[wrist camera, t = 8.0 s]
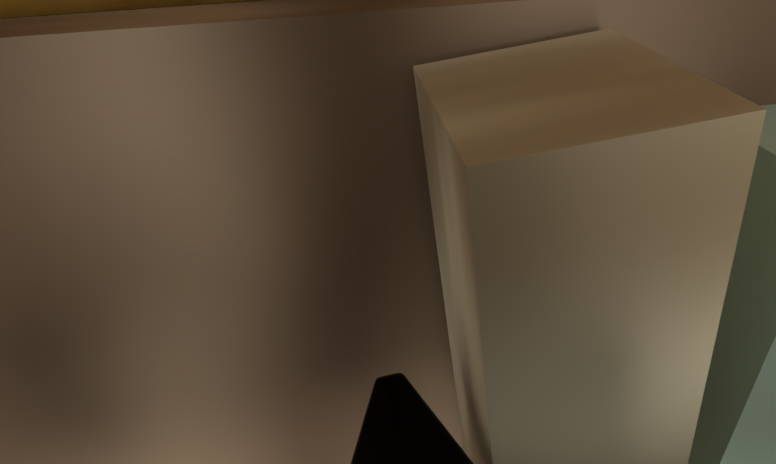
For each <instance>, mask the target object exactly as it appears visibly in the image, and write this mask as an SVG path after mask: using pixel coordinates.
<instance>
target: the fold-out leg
mask: <svg viewBox="0 0 776 464" xmlns="http://www.w3.org/2000/svg"><path fill="white" fill-rule="evenodd" d="M413 70H414V78H415V86H416V93H417V101H418V108H419V116H420V123H421V131H422V138H423V146H424V153H425V161H426V169H427V176H428V184H429V191H430V199H431V206H432V214H433V221H434V229H435V236H436V244H437V252H438V259H439V267H440V274H441V282H442V289H443V297H444V304H445V312H446V320H447V327H448V335H449V342H450V350H451V357H452V365H453V372H454V380H455V387H456V395H457V403H458V410H459V418H460V425H461V433H462V440H463V448H464V452H465V453H466V454H467V456H468V457H469V458H470V460H471V461H472V462H473V463H474V464H688V461H689V457H690V452H691V448H692V443H693V439H694V434H695V430H696V425H697V421H698V416H699V412H700V407H701V403H702V398H703V394H704V389H705V385H706V380H707V376H708V371H709V367H710V362H711V358H712V353H713V349H714V344H715V340H716V335H717V331H718V326H719V322H720V317H721V313H722V308H723V304H724V299H725V295H726V290H727V286H728V281H729V277H730V272H731V268H732V263H733V259H734V254H735V250H736V245H737V241H738V236H739V232H740V227H741V223H742V218H743V213H744V209H745V204H746V200H747V195H748V191H749V186H750V182H751V177H752V173H753V168H754V164H755V159H756V155H757V150H758V146H759V141H760V137H761V132H762V128H763V123H764V119H765V114H766V110H767V109H765V108H763V107H761V106H759V105H757V104H756V103H754V102H752V101H750V100H748V99H746V98H744V97H742V96H740V95H738V94H736V93H734V92H732V91H730V90H728V89H726V88H724V87H722V86H720V85H718V84H716V83H714V82H712V81H710V80H709V79H707V78H705V77H703V76H701V75H699V74H697V73H695V72H693V71H691V70H689V69H687V68H685V67H683V66H681V65H679V64H677V63H675V62H673V61H671V60H669V59H667V58H665V57H664V56H662V55H660V54H658V53H656V52H654V51H652V50H650V49H648V48H646V47H644V46H642V45H640V44H638V43H636V42H634V41H632V40H630V39H628V38H626V37H624V36H622V35H620V34H618V33H617V32H615V31H613V30H611V29H604V30H599V31H594V32H588V33H583V34H578V35H573V36H567V37H562V38H557V39H552V40H546V41H541V42H536V43H531V44H525V45H520V46H515V47H510V48H504V49H499V50H494V51H489V52H483V53H478V54H473V55H468V56H463V57H457V58H452V59H447V60H442V61H436V62H431V63H426V64H421V65H415V66H413Z"/></svg>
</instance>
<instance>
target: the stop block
mask: <svg viewBox="0 0 776 464" xmlns="http://www.w3.org/2000/svg"><path fill="white" fill-rule="evenodd" d="M760 106H761V107H763V108H765V109H767V110H766V114H765V119H764V123H763V128H762V132H761V137H760V141H759V146H758V150H757V155H756V159H755V164H754V168H753V173H752V177H751V182H750V186H749V191H748V195H747V200H746V204H745V209H744V213H743V218H742V223H741V227H740V232H739V236H738V241H737V245H736V250H735V254H734V259H733V263H732V268H731V272H730V277H729V281H728V286H727V290H726V295H725V299H724V304H723V308H722V313H721V317H720V322H719V326H718V331H717V335H716V340H715V344H714V349H713V353H712V358H711V362H710V367H709V371H708V376H707V380H706V385H705V389H704V394H703V398H702V403H701V407H700V412H699V416H698V421H697V425H696V430H695V434H694V439H693V443H692V448H691V452H690V457H689V461H688V464H776V104H772V105H760Z"/></svg>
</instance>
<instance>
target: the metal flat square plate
mask: <svg viewBox="0 0 776 464" xmlns="http://www.w3.org/2000/svg"><path fill="white" fill-rule="evenodd" d="M604 29H611V30H613V31H615V32H617V33H618V34H620V35H622V36H624V37H626V38H628V39H630V40H632V41H634V42H636V43H638V44H640V45H642V46H644V47H646V48H648V49H650V50H652V51H654V52H656V53H658V54H660V55H662V56H664V57H665V58H667V59H669V60H671V61H673V62H675V63H677V64H679V65H681V66H683V67H685V68H687V69H689V70H691V71H693V72H695V73H697V74H699V75H701V76H703V77H705V78H707V79H709V80H710V81H712V82H714V83H716V84H718V85H720V86H722V87H724V88H726V89H728V90H730V91H732V92H734V93H736V94H738V95H740V96H742V97H744V98H746V99H748V100H750V101H752V102H754V103H756V104H757V105H759V106H760V105H772V104H776V0H264V1H250V2H235V3H221V4H206V5H191V6H177V7H162V8H148V9H133V10H119V11H104V12H90V13H75V14H61V15H46V16H32V17H17V18H3V19H0V464H351V461H352V457H353V454H354V450H355V447H356V444H357V440H358V437H359V433H360V430H361V427H362V423H363V420H364V416H365V413H366V410H367V406H368V403H369V399H370V396H371V393H372V389H373V386H374V383H375V380H376V379H377V378H378V377H381V376H386V375H390V374H395V373H402V374H404V375H405V376H406V378H407V379H408V380H409V382H410V383H411V384H412V385H413V387H414V388H415V389H416V390H417V392H418V393H419V394H420V396H421V397H422V398H423V399H424V401H425V402H426V403H427V405H428V406H429V407H430V408H431V410H432V411H433V412H434V413H435V415H436V416H437V417H438V419H439V420H440V421H441V422H442V424H443V425H444V426H445V428H446V429H447V430H448V431H449V433H450V434H451V435H452V437H453V438H454V439H455V440H456V442H457V443H458V444H459V445H460V447H461V448H462V449H463V451H464V448H463V440H462V433H461V425H460V418H459V410H458V403H457V395H456V387H455V380H454V372H453V365H452V357H451V350H450V342H449V335H448V327H447V320H446V312H445V304H444V297H443V289H442V282H441V274H440V267H439V259H438V252H437V244H436V236H435V229H434V221H433V214H432V206H431V199H430V191H429V184H428V176H427V169H426V161H425V153H424V146H423V138H422V131H421V123H420V116H419V108H418V101H417V93H416V86H415V78H414V70H413V66H415V65H421V64H426V63H431V62H436V61H442V60H447V59H452V58H457V57H463V56H468V55H473V54H478V53H483V52H489V51H494V50H499V49H504V48H510V47H515V46H520V45H525V44H531V43H536V42H541V41H546V40H552V39H557V38H562V37H567V36H573V35H578V34H583V33H588V32H594V31H599V30H604Z"/></svg>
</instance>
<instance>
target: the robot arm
mask: <svg viewBox="0 0 776 464" xmlns="http://www.w3.org/2000/svg"><path fill="white" fill-rule="evenodd" d="M351 464H474V463H473V462H472V461H471V460H470V458H469V457H468V456H467V454H466V453H465V452H464V451H463V449H462V448H461V447H460V445H459V444H458V443H457V442H456V440H455V439H454V438H453V437H452V435H451V434H450V433H449V431H448V430H447V429H446V428H445V426H444V425H443V424H442V422H441V421H440V420H439V419H438V417H437V416H436V415H435V413H434V412H433V411H432V410H431V408H430V407H429V406H428V405H427V403H426V402H425V401H424V399H423V398H422V397H421V396H420V394H419V393H418V392H417V390H416V389H415V388H414V387H413V385H412V384H411V383H410V382H409V380H408V379H407V378H406V376H405V375H404V374H402V373H395V374H390V375H386V376H381V377H378V378H377V379H376V380H375V383H374V386H373V389H372V393H371V396H370V399H369V403H368V406H367V410H366V413H365V416H364V420H363V423H362V427H361V430H360V433H359V437H358V440H357V444H356V447H355V450H354V454H353V457H352V461H351Z"/></svg>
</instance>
